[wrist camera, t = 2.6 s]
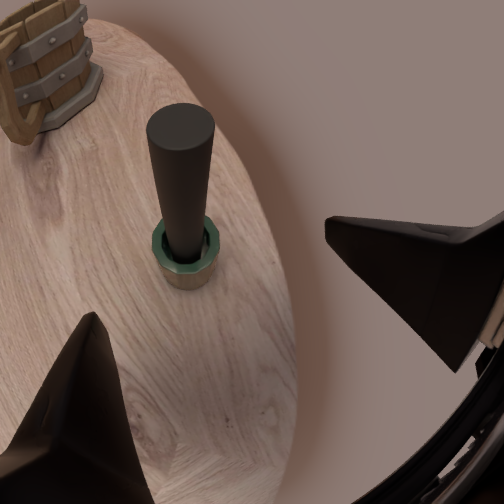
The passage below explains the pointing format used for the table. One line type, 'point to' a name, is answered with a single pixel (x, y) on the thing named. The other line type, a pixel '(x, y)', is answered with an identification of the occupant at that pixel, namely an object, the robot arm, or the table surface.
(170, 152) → the stylus
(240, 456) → the table surface
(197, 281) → the pen pot
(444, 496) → the robot arm
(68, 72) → the tankard
